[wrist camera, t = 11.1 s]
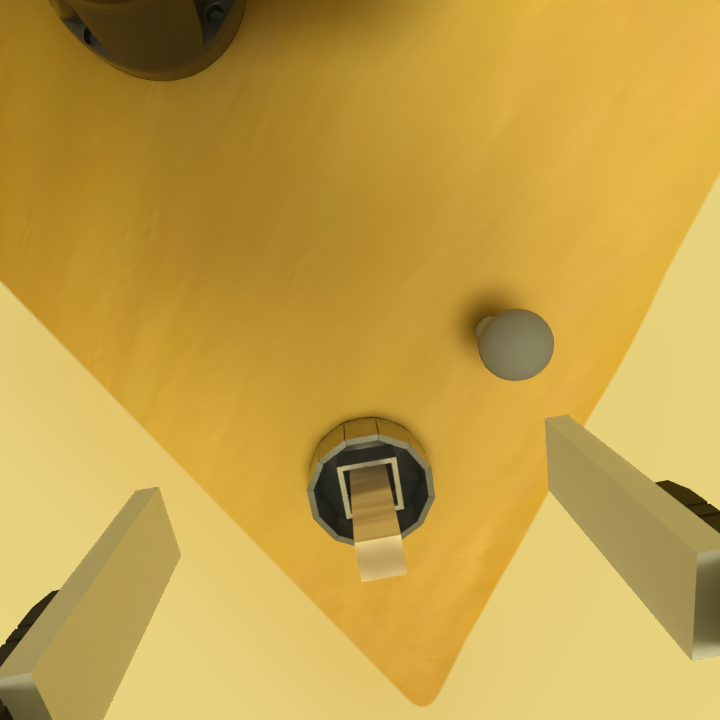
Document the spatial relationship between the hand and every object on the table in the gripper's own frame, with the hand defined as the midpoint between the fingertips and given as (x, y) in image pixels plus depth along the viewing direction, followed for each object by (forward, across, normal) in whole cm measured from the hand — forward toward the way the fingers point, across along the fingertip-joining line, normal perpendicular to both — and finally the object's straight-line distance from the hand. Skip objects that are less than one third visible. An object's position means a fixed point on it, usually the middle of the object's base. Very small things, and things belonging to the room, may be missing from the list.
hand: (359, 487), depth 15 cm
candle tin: (+29, 0, -16) cm, 33 cm away
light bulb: (+30, +14, -3) cm, 33 cm away
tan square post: (+29, 0, -16) cm, 33 cm away
